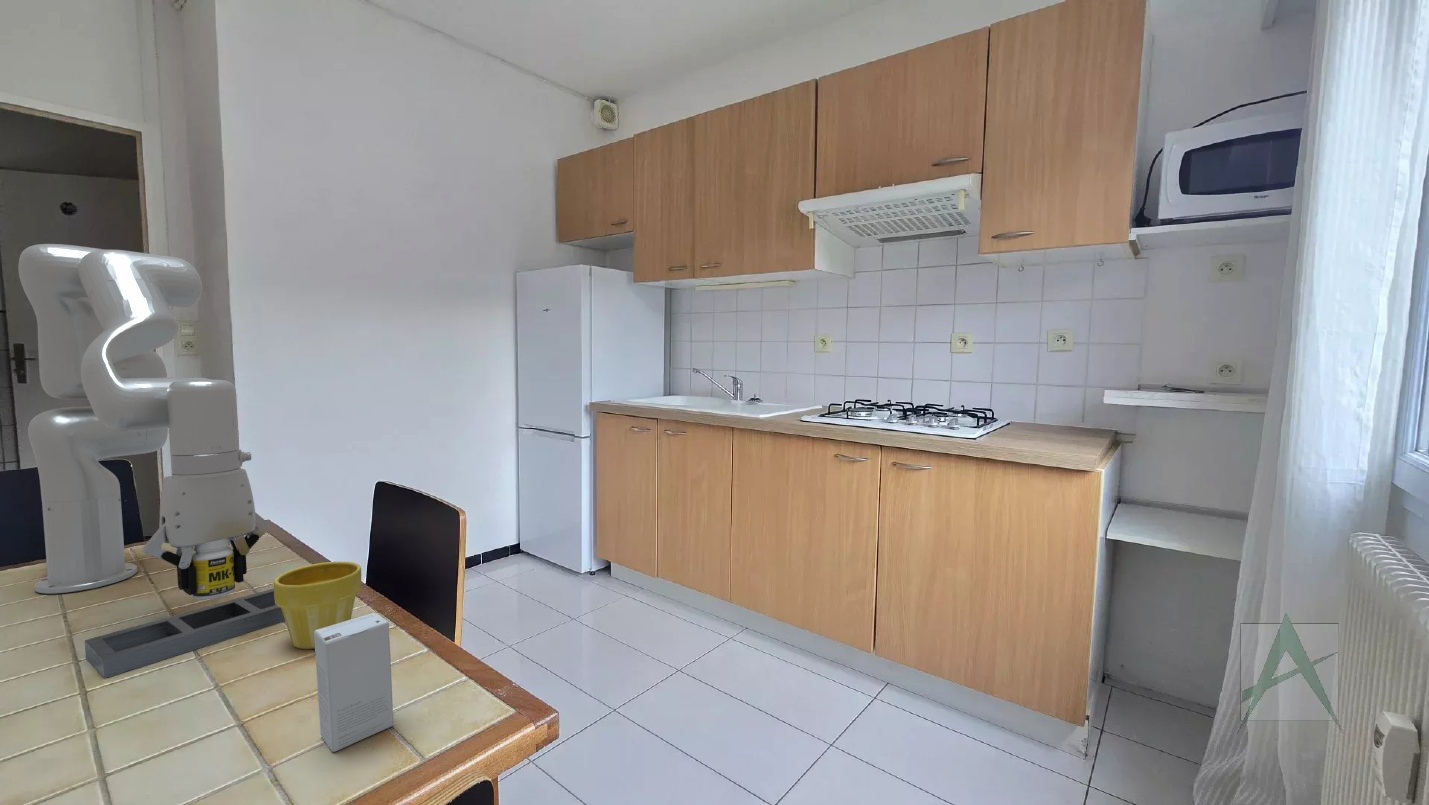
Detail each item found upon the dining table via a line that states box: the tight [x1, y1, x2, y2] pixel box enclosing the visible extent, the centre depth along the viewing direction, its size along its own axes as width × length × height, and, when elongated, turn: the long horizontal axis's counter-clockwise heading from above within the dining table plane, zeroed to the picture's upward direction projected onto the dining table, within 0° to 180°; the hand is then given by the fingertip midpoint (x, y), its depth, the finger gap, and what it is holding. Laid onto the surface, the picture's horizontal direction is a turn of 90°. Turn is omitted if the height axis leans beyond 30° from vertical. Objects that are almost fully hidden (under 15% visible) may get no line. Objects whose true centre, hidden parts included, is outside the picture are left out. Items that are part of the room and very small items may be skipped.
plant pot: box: [273, 560, 362, 650], centre depth 83 cm, size 10×10×10 cm
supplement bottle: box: [191, 539, 236, 601], centre depth 85 cm, size 5×5×8 cm
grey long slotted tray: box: [83, 587, 286, 679], centre depth 86 cm, size 9×25×2 cm, turn 147°
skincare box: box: [314, 612, 394, 753], centre depth 62 cm, size 6×4×12 cm
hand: (213, 585), depth 85 cm, fingers closed on supplement bottle, 4 cm apart
